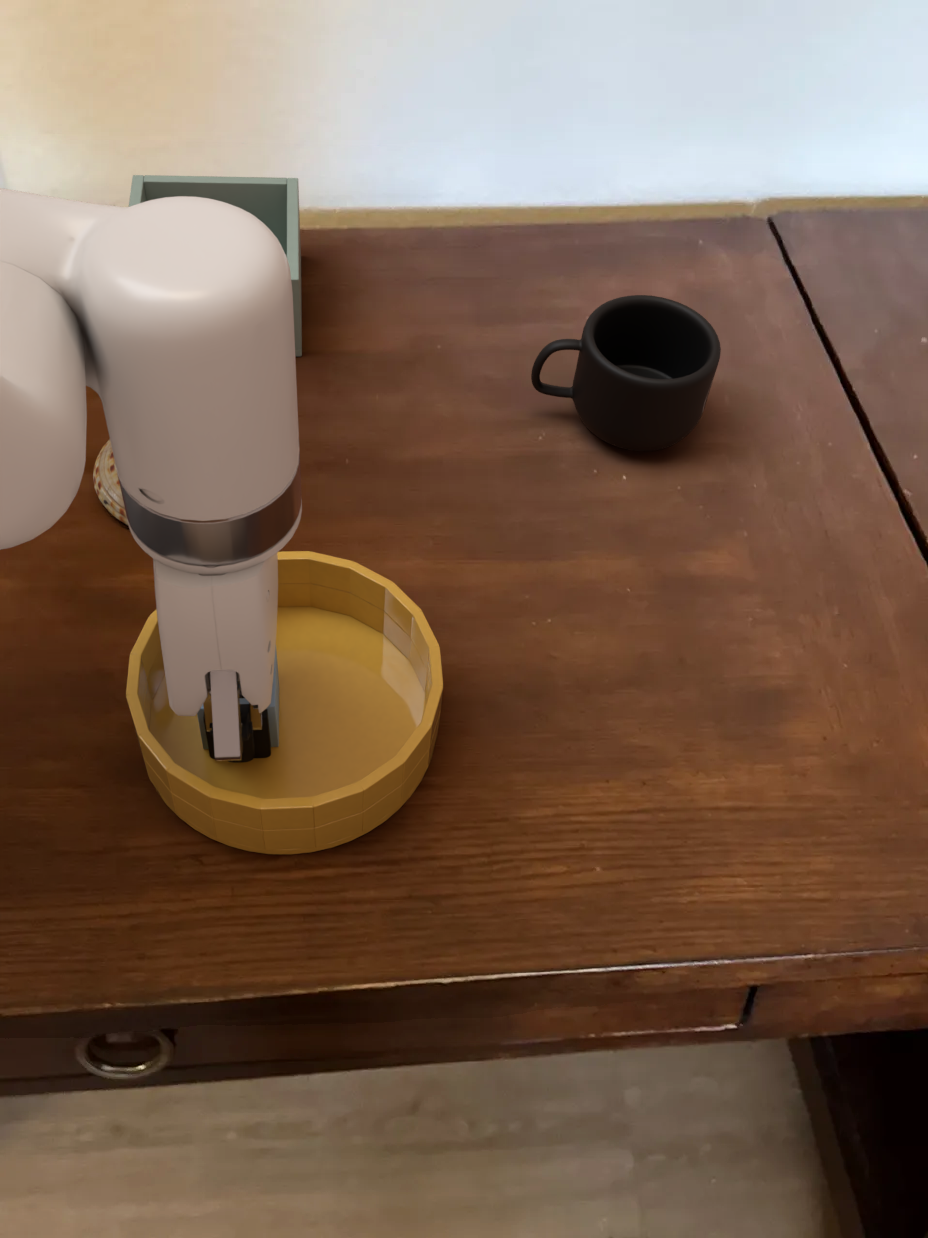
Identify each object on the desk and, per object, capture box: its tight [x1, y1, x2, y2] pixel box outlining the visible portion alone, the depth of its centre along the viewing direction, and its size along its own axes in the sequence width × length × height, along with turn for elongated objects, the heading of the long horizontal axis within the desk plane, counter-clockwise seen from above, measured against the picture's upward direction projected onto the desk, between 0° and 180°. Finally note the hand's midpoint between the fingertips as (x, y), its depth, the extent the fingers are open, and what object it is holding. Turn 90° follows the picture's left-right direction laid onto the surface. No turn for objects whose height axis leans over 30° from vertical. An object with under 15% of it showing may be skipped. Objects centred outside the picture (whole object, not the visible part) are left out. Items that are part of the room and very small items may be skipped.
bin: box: [128, 174, 303, 357], centre depth 85 cm, size 12×12×7 cm
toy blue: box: [197, 646, 279, 749], centre depth 65 cm, size 4×4×4 cm
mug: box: [530, 294, 722, 452], centre depth 81 cm, size 12×9×7 cm
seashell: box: [92, 438, 129, 527], centre depth 76 cm, size 8×6×8 cm
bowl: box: [125, 550, 444, 855], centre depth 65 cm, size 16×16×5 cm
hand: (241, 714), depth 66 cm, fingers closed on toy blue, 4 cm apart
